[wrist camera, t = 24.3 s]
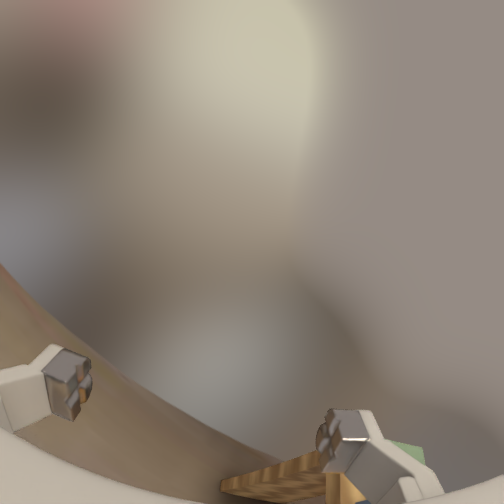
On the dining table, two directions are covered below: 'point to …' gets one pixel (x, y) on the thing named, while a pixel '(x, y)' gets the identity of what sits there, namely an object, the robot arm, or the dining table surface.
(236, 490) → the shelf
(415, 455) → the block
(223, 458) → the dining table surface
